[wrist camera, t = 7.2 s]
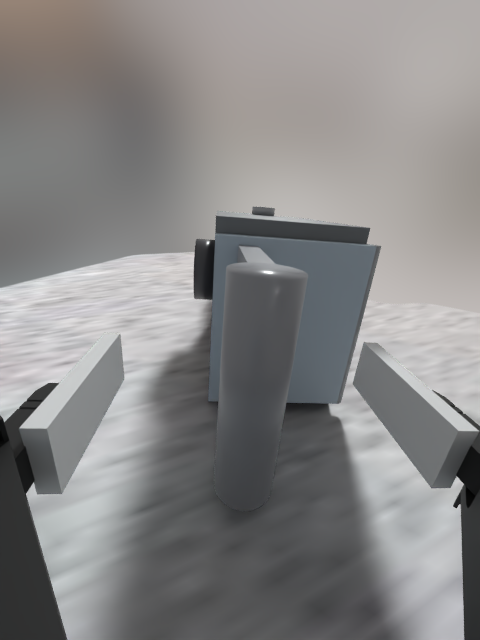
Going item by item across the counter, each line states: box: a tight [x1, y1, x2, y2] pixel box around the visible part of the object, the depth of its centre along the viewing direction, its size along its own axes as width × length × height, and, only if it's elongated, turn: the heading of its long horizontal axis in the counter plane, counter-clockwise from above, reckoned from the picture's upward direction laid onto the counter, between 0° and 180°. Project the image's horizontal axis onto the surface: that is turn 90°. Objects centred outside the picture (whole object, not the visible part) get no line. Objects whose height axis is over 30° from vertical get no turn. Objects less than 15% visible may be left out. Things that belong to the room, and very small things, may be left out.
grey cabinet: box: [194, 207, 370, 300], centre depth 28 cm, size 12×18×15 cm, turn 4°
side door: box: [208, 233, 381, 511], centre depth 16 cm, size 10×10×12 cm
